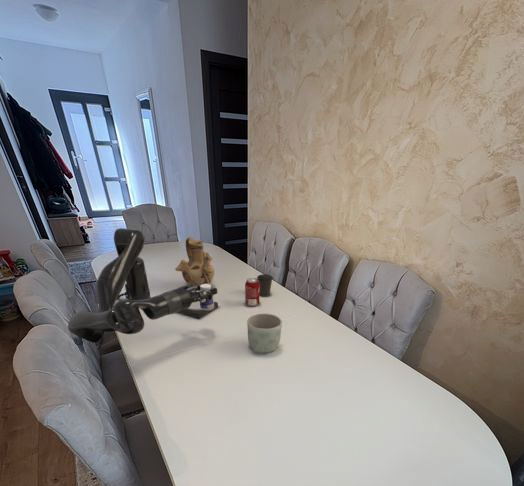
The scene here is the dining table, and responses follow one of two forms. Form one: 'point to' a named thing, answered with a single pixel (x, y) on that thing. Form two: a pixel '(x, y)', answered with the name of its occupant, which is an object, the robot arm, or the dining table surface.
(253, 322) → the planter
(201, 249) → the ceramic vessel
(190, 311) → the scale
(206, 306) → the pill bottle
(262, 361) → the dining table surface
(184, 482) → the dining table surface
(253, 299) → the soda can
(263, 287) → the coffee cup
